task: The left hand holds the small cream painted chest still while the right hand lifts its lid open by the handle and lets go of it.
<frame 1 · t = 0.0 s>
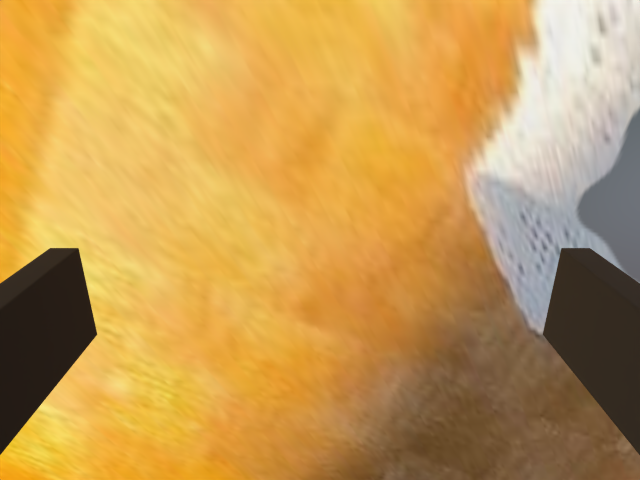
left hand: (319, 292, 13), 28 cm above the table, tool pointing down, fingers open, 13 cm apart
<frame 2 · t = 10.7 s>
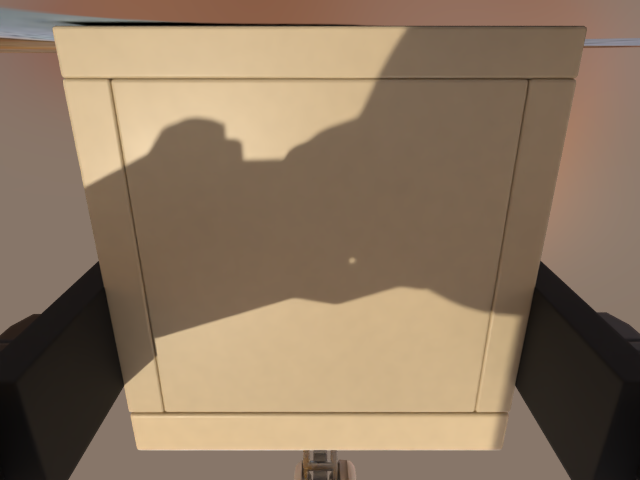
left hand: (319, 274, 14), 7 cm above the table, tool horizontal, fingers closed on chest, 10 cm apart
chest: (319, 40, 16), on the table, touching left hand
lid: (319, 348, 21), point 13 cm above the table, hinge at 0.0°
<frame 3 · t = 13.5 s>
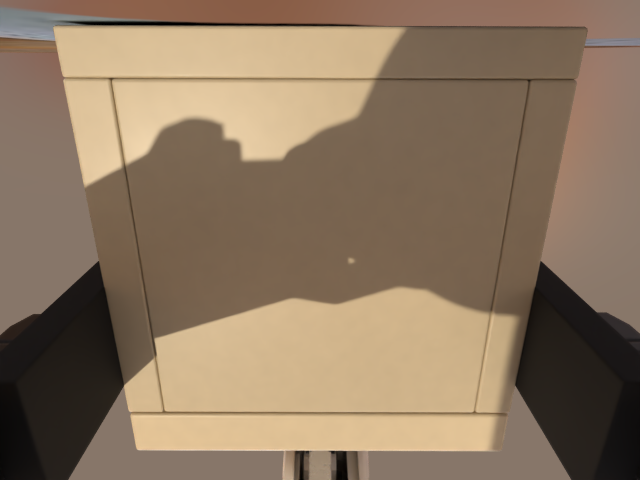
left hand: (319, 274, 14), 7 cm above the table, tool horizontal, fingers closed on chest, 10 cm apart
chest: (320, 40, 16), on the table, touching left hand
lid: (319, 352, 21), point 13 cm above the table, hinge at 1.2°, touching right hand
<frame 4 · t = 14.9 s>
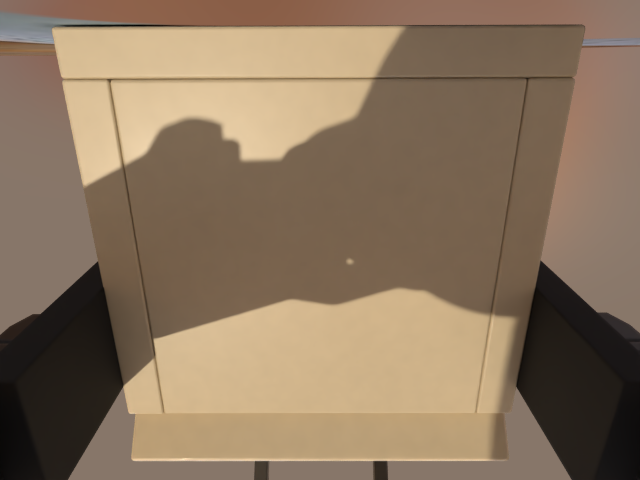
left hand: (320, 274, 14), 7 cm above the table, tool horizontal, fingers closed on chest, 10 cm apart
chest: (319, 42, 16), on the table, touching left hand
when the left hand's fingers open (7 cm above the table, at t = 20.1 s): chest stays where it is, on the table.
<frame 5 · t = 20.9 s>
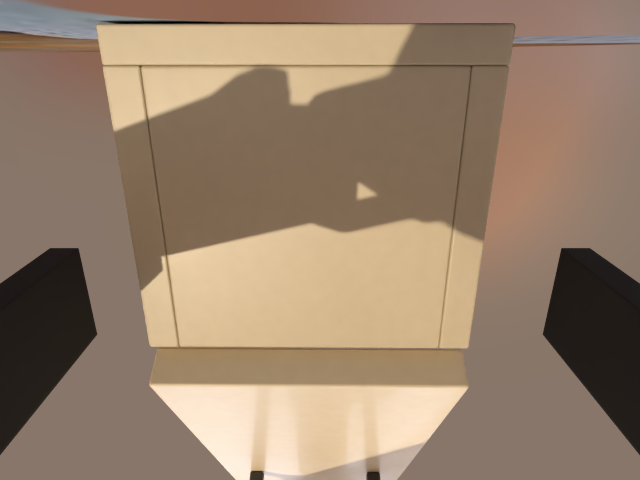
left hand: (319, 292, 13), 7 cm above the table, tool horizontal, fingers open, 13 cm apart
chest: (313, 37, 18), on the table
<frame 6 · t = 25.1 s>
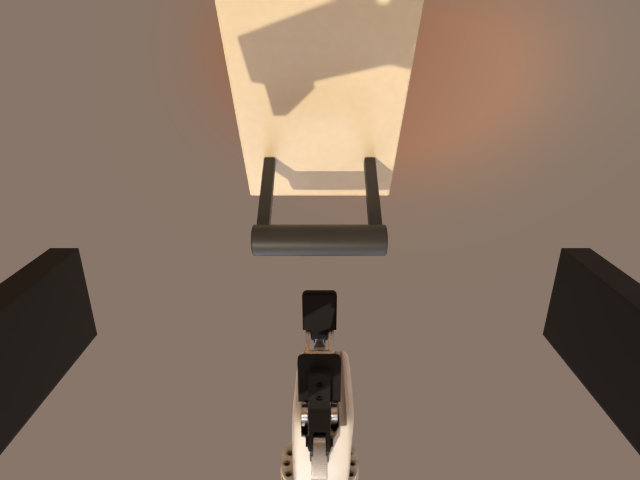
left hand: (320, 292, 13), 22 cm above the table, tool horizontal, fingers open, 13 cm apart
right hand: (319, 320, 38), fingers open, 9 cm apart
lid: (319, 123, 23), point 19 cm above the table, hinge at 58.5°
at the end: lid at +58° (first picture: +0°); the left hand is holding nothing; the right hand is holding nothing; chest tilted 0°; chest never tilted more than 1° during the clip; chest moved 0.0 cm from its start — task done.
